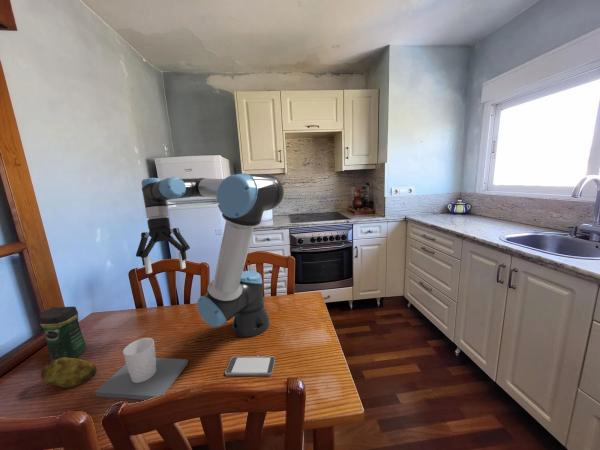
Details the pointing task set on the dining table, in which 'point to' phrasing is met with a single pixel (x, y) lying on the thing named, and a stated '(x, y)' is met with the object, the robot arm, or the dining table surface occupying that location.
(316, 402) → the dining table surface
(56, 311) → the coffee jar
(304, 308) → the dining table surface
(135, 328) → the dining table surface
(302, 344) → the dining table surface
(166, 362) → the grey board
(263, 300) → the robot arm
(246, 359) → the smartphone
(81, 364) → the potato
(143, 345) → the white cup
